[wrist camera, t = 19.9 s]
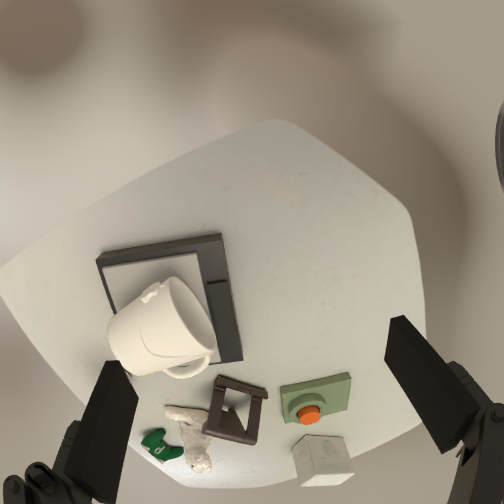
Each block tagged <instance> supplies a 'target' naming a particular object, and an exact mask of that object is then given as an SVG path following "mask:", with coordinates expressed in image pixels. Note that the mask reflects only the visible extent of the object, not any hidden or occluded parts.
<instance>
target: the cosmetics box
mask: <svg viewBox="0 0 504 504" xmlns="http://www.w3.org/2000/svg"><path fill="white" fill-rule="evenodd" d="M292 453H293V457H294V462H295V466H296V471H297V475H298V480H299V485H300V486H325V485H326V486H327V485H339V484H341V483H342V482H344V481H345V480H347V479H348V478H350V477H351V476H352V475H354V474H355V473H356V472H355V469H354V467H353V464H352V461H351V459H350V456H349V453H348V450H347V448H346V445H345V442H344V439H343V437H327V436H312V435H305V436H304V437H303V438H302V439H301V440H300V441H299V442H298V443H297V444H296V445H295V446H294V447H293V448H292Z"/></svg>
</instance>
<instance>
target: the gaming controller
mask: <svg viewBox="0 0 504 504" xmlns="http://www.w3.org/2000/svg"><path fill="white" fill-rule="evenodd" d="M165 434H166V432H165V431H164V430H163V429H160V430H157V431H154V432H152V433H150V434H149V435H147V436H146V437H144V438H143V440H142V442H141V445H142V447H143V448H144V449H145V450H146V451H148V452H149V453H150V454H151V455H152V456H154V457H155V458H156V459H157V460H158V461H159V462H160V463H162V464H163V462H165V461H167V460H169V459H173V458H177V457H180V456H181V455H182V454H183V453H184V450H183V448H181V447H175V448H168V447H167V446H166V445H165V444H164V443H163V442H162V441H161V439H162V438H163V437H164V435H165Z"/></svg>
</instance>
